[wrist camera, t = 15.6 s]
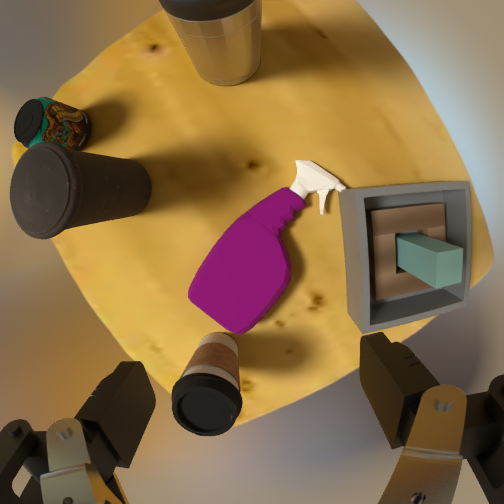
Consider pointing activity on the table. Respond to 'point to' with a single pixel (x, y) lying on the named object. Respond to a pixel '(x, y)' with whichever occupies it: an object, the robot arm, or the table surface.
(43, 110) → the beverage can
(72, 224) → the container
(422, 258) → the peg
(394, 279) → the plate
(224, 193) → the table surface
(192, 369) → the coffee cup
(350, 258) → the crate
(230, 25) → the robot arm
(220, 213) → the table surface
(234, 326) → the spray bottle
